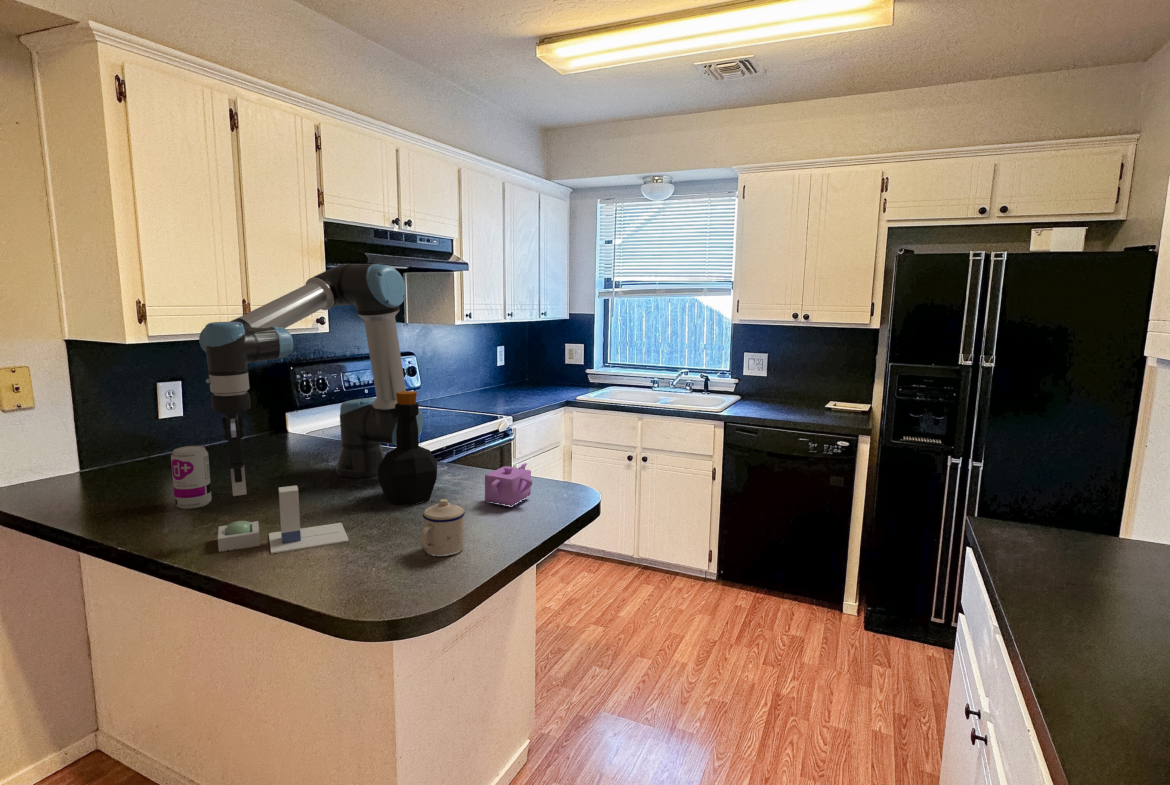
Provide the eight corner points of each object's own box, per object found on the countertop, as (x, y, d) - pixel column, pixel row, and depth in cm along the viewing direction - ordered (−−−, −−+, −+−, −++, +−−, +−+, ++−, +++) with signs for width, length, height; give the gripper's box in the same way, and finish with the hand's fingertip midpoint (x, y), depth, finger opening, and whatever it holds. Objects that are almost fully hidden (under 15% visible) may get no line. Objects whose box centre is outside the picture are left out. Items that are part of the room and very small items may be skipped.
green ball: (250, 535, 144) (249, 519, 144) (250, 542, 141) (249, 526, 140) (228, 538, 142) (227, 522, 142) (228, 545, 138) (227, 529, 138)
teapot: (507, 489, 184) (507, 456, 182) (548, 496, 178) (549, 462, 176) (471, 507, 168) (471, 471, 166) (515, 516, 162) (516, 479, 160)
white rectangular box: (299, 534, 145) (296, 485, 143) (300, 540, 142) (298, 490, 140) (281, 537, 144) (278, 487, 142) (282, 543, 140) (279, 492, 138)
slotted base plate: (341, 524, 154) (341, 522, 154) (348, 541, 143) (348, 539, 143) (268, 534, 146) (268, 533, 146) (271, 554, 136) (271, 552, 136)
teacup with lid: (441, 538, 146) (440, 491, 145) (472, 546, 143) (472, 497, 141) (405, 557, 136) (404, 506, 134) (438, 566, 132) (438, 514, 130)
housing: (259, 533, 147) (258, 521, 146) (260, 545, 140) (259, 532, 139) (219, 538, 143) (218, 526, 143) (218, 551, 136) (217, 538, 136)
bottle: (446, 502, 171) (445, 394, 166) (385, 511, 163) (382, 398, 158) (429, 486, 185) (427, 386, 180) (372, 494, 176) (368, 389, 171)
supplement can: (194, 511, 160) (190, 454, 157) (167, 508, 161) (162, 451, 159) (219, 500, 168) (215, 446, 165) (192, 498, 169) (188, 444, 167)
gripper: (211, 388, 141) (221, 488, 146) (209, 399, 130) (220, 506, 135) (248, 386, 145) (257, 483, 149) (250, 396, 134) (259, 500, 138)
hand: (239, 494), depth 142 cm, fingers closed
